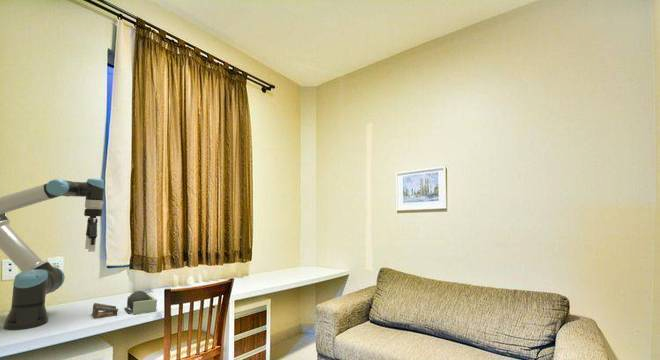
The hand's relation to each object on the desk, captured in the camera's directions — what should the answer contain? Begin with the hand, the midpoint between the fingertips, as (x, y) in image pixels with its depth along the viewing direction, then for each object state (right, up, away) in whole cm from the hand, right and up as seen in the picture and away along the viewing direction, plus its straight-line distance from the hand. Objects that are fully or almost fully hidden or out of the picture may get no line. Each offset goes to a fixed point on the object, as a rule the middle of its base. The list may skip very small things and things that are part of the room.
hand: (89, 250), depth 179 cm
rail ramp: (+10, -32, -3) cm, 33 cm away
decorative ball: (+21, -23, +7) cm, 32 cm away
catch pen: (+22, -33, +7) cm, 40 cm away
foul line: (+17, -33, +3) cm, 37 cm away
